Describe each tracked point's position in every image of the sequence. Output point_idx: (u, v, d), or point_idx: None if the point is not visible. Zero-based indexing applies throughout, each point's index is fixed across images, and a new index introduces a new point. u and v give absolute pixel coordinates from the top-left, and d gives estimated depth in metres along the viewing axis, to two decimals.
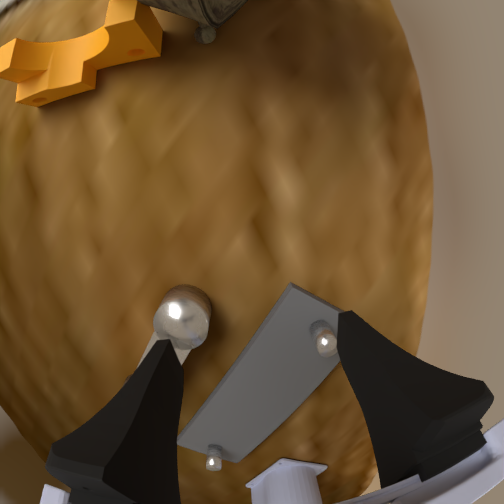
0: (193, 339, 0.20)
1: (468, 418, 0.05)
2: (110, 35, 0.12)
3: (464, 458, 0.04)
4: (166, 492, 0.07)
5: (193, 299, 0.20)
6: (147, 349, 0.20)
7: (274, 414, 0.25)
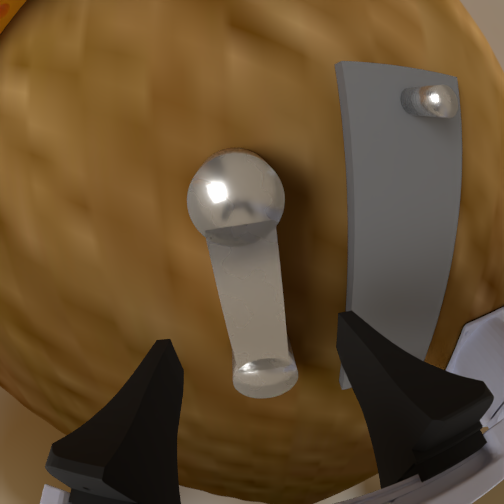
0: (268, 207, 0.12)
1: (468, 418, 0.05)
2: None
3: (464, 458, 0.04)
4: (166, 492, 0.07)
5: (227, 152, 0.12)
6: (217, 277, 0.13)
7: (436, 266, 0.16)
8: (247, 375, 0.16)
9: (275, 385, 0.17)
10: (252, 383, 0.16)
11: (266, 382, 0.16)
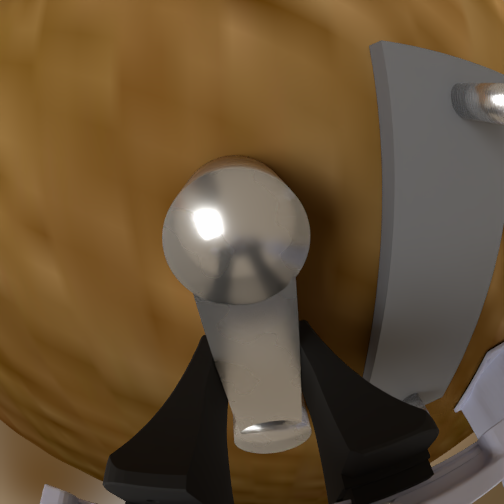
0: (285, 251, 0.08)
1: (404, 450, 0.05)
2: None
3: (406, 488, 0.04)
4: (225, 493, 0.07)
5: (223, 164, 0.08)
6: (211, 341, 0.09)
7: (472, 299, 0.13)
8: (251, 436, 0.12)
9: (284, 442, 0.13)
10: (257, 442, 0.12)
11: (273, 440, 0.12)
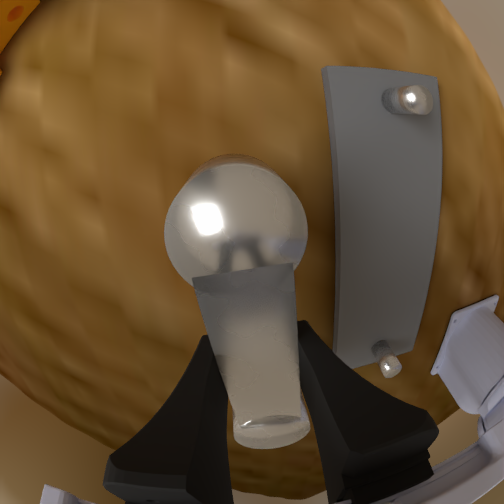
0: (283, 245, 0.08)
1: (404, 450, 0.05)
2: None
3: (406, 488, 0.04)
4: (225, 493, 0.07)
5: (223, 162, 0.08)
6: (211, 335, 0.09)
7: (420, 253, 0.18)
8: (251, 431, 0.12)
9: (283, 437, 0.13)
10: (257, 437, 0.13)
11: (273, 435, 0.13)
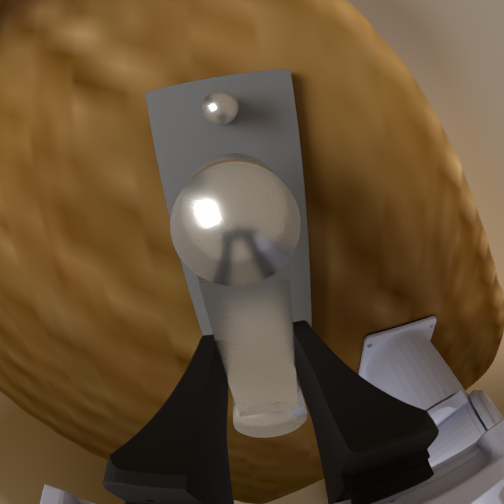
0: (278, 236, 0.09)
1: (404, 450, 0.05)
2: None
3: (405, 488, 0.04)
4: (225, 493, 0.07)
5: (224, 160, 0.09)
6: (212, 321, 0.10)
7: None
8: (249, 418, 0.13)
9: (281, 426, 0.14)
10: (255, 425, 0.13)
11: (271, 423, 0.14)
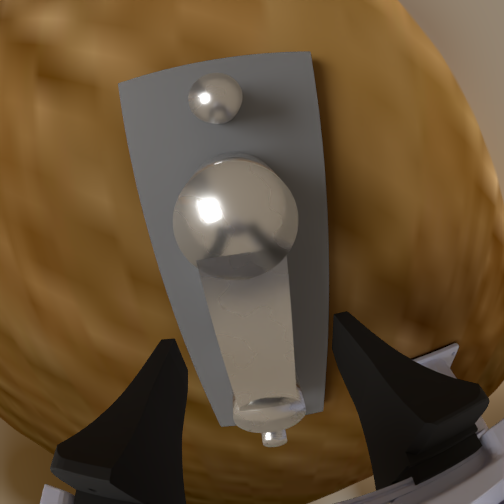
0: (277, 231, 0.09)
1: (463, 421, 0.05)
2: None
3: (459, 461, 0.04)
4: (172, 492, 0.07)
5: (224, 159, 0.09)
6: (213, 314, 0.10)
7: (302, 313, 0.15)
8: (249, 413, 0.13)
9: (280, 421, 0.14)
10: (255, 420, 0.14)
11: (270, 418, 0.14)
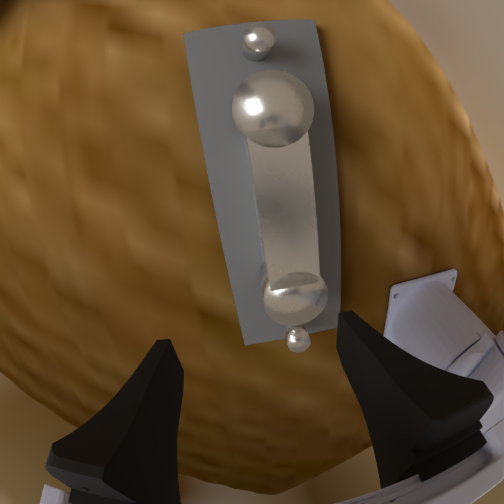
0: (300, 114, 0.13)
1: (468, 418, 0.05)
2: None
3: (464, 458, 0.04)
4: (166, 492, 0.07)
5: None
6: (255, 176, 0.14)
7: (318, 208, 0.18)
8: (278, 294, 0.17)
9: (306, 308, 0.17)
10: (283, 305, 0.17)
11: (297, 303, 0.17)
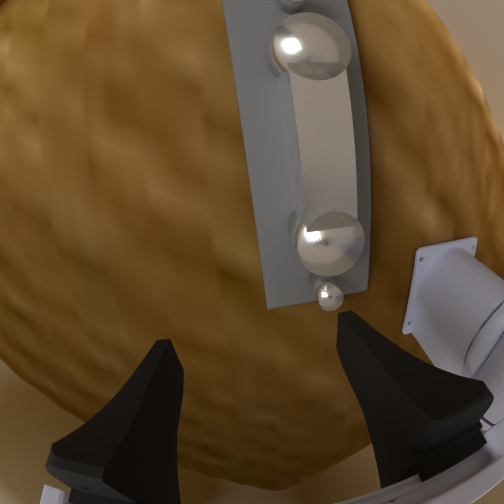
0: (339, 52, 0.11)
1: (468, 418, 0.05)
2: None
3: (464, 458, 0.04)
4: (166, 492, 0.07)
5: None
6: (296, 106, 0.12)
7: None
8: (315, 237, 0.15)
9: (342, 255, 0.16)
10: (319, 250, 0.16)
11: (333, 249, 0.16)
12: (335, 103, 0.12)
